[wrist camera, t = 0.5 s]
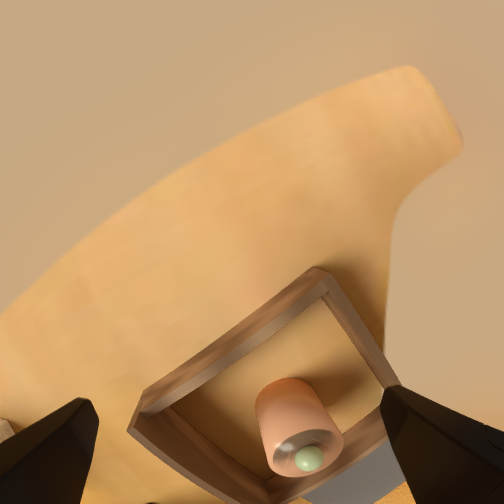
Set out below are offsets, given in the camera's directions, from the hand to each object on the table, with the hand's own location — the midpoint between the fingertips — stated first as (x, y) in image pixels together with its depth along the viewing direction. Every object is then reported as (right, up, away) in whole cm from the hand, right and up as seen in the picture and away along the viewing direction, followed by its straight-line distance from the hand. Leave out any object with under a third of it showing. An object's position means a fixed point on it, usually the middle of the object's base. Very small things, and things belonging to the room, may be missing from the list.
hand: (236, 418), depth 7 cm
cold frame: (+3, -9, +16) cm, 18 cm away
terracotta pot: (+3, -9, +16) cm, 18 cm away
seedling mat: (+15, -25, +18) cm, 34 cm away
